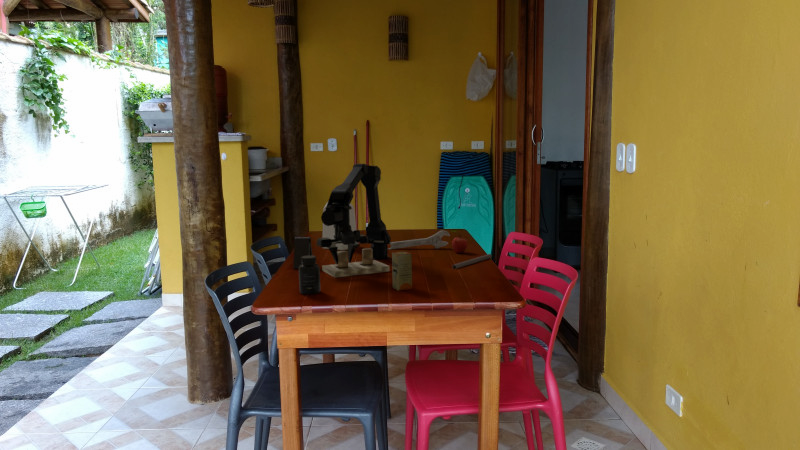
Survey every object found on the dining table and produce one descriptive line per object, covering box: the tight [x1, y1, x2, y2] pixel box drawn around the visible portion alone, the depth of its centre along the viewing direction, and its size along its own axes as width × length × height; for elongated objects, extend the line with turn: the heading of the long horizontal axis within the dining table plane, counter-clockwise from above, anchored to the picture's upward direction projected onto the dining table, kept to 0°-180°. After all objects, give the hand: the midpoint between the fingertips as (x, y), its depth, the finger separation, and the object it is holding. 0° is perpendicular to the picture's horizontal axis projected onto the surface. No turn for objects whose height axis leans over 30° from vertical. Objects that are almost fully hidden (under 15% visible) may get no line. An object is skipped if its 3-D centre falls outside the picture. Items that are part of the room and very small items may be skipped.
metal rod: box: [451, 253, 493, 270], centre depth 250 cm, size 2×27×2 cm, turn 142°
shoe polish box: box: [391, 250, 413, 291], centre depth 208 cm, size 5×5×12 cm
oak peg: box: [337, 250, 349, 269], centre depth 235 cm, size 4×4×8 cm
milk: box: [321, 201, 357, 251], centre depth 290 cm, size 12×12×26 cm
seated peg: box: [361, 247, 374, 266], centre depth 239 cm, size 4×4×8 cm
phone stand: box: [292, 236, 314, 270], centre depth 246 cm, size 9×6×12 cm, turn 174°
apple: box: [450, 229, 468, 254], centre depth 272 cm, size 8×7×10 cm
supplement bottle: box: [298, 255, 321, 296], centre depth 204 cm, size 7×7×12 cm
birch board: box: [321, 259, 390, 278], centre depth 238 cm, size 22×14×2 cm, turn 116°
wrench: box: [387, 230, 451, 250], centre depth 285 cm, size 8×2×30 cm
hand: (343, 263), depth 235 cm, fingers open, 5 cm apart
